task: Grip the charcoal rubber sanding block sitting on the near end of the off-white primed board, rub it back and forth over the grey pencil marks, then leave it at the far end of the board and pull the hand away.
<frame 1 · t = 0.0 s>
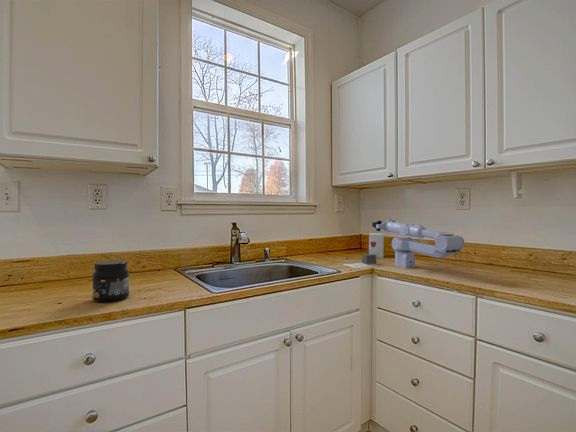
hand: (378, 224, 176), 22 cm above the worktop, tool horizontal, fingers open, 7 cm apart
sanding block: (369, 264, 163), point 1 cm above the worktop, touching board
board: (361, 267, 161), on the worktop
supplement container: (111, 299, 102), on the worktop
supplement box: (376, 256, 202), on the worktop
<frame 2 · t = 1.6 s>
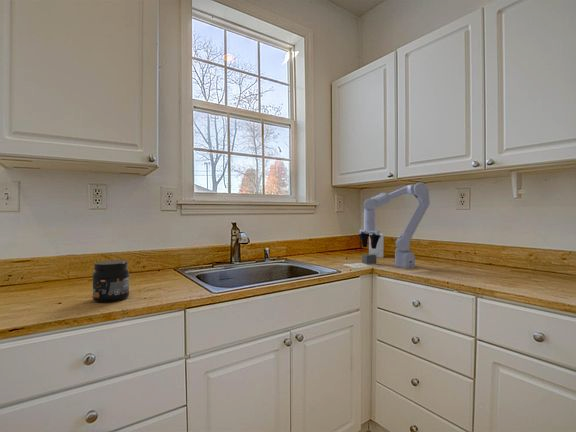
hand: (369, 247, 163), 10 cm above the worktop, tool pointing down, fingers open, 7 cm apart
nothing on the worktop moved.
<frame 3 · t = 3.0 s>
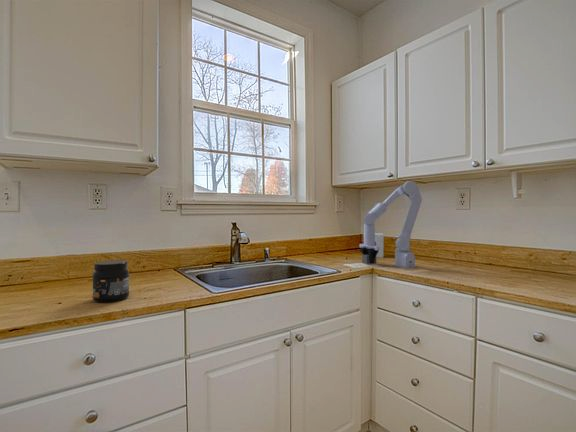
hand: (369, 262, 163), 2 cm above the worktop, tool pointing down, fingers closed on sanding block, 4 cm apart
sanding block: (369, 264, 163), point 1 cm above the worktop, touching board, gripper
everything else where it was.
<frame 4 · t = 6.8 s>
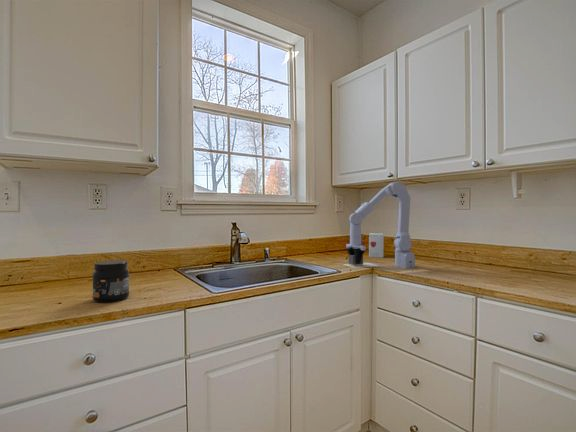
hand: (355, 263, 160), 2 cm above the worktop, tool pointing down, fingers closed on sanding block, 4 cm apart
sanding block: (355, 265, 160), point 1 cm above the worktop, touching gripper
everything else where it was.
when the fingers open (2 cm above the worktop, at t = 10.5 s): sanding block stays where it is, resting on board.
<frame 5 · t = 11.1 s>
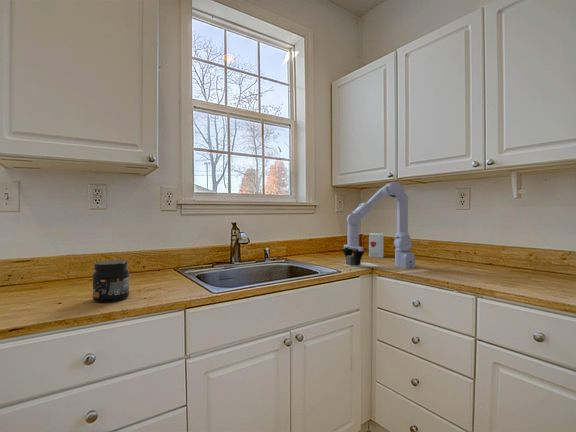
hand: (353, 263, 160), 2 cm above the worktop, tool pointing down, fingers open, 7 cm apart
sanding block: (353, 265, 160), point 1 cm above the worktop, touching board
everything else where it was.
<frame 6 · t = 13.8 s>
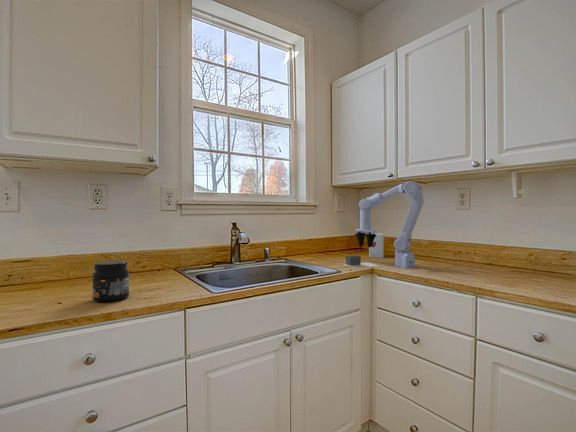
hand: (365, 246, 170), 10 cm above the worktop, tool pointing down, fingers open, 7 cm apart
nothing on the worktop moved.
at the end: sanding block inside the target area on the board (0.1 cm from its centre), point 1.2 cm above the board's base; sanding block tilted 0°; the gripper is holding nothing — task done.
